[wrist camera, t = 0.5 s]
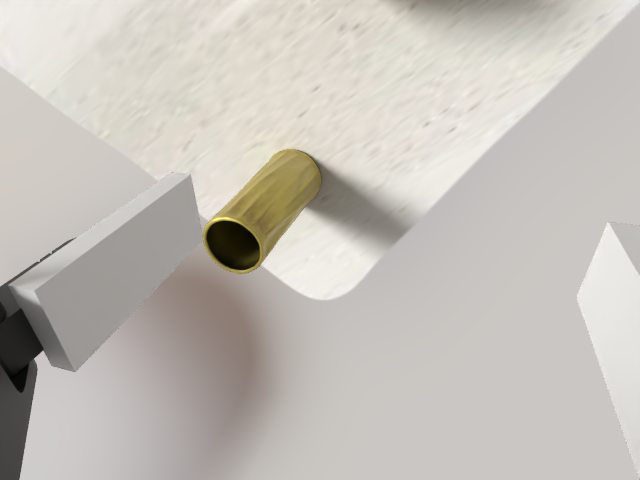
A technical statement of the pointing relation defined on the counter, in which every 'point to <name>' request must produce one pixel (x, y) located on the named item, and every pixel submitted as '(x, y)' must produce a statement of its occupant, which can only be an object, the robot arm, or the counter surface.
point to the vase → (262, 212)
